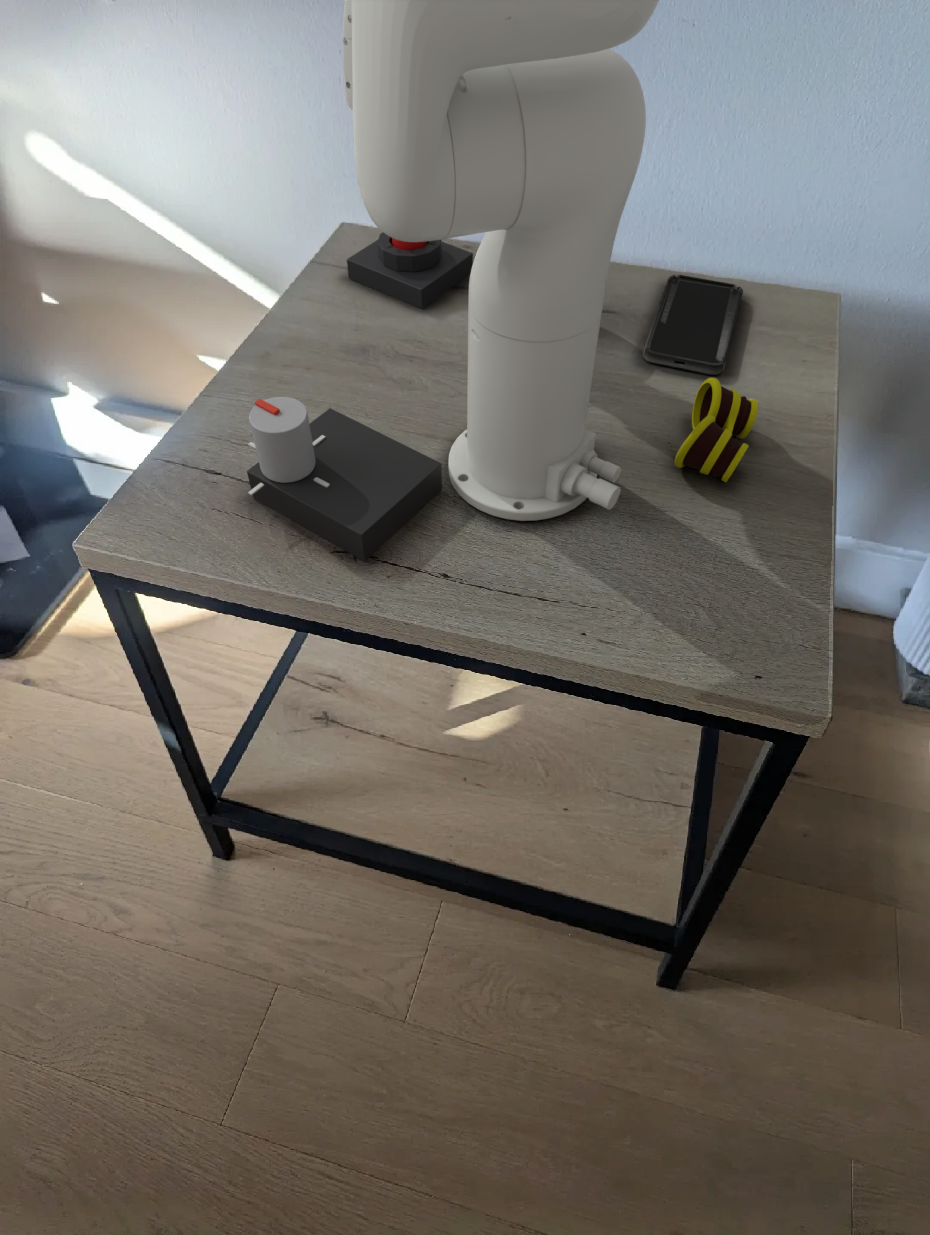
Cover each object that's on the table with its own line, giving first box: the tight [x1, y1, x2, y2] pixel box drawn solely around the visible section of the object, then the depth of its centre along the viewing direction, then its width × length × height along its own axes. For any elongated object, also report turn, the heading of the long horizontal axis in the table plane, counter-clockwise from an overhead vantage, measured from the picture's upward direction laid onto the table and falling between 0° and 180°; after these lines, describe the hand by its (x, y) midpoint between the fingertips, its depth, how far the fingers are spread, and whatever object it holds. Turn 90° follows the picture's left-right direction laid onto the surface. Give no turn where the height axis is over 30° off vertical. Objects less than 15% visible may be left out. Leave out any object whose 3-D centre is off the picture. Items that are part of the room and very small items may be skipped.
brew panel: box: [246, 407, 443, 563], centre depth 70 cm, size 14×12×3 cm
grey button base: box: [346, 231, 474, 310], centre depth 92 cm, size 10×9×4 cm
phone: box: [642, 274, 744, 376], centre depth 87 cm, size 8×1×15 cm
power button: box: [392, 238, 427, 250], centre depth 90 cm, size 4×4×2 cm
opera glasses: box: [674, 377, 759, 483], centre depth 74 cm, size 10×5×5 cm, turn 160°
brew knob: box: [248, 396, 316, 483], centre depth 67 cm, size 4×4×5 cm
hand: (406, 192), depth 87 cm, fingers closed
